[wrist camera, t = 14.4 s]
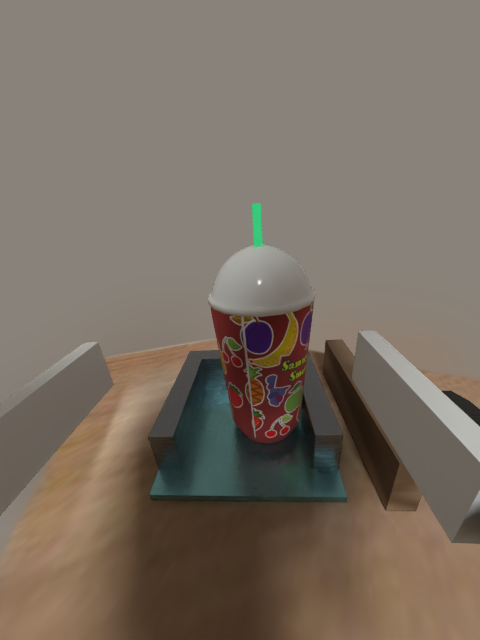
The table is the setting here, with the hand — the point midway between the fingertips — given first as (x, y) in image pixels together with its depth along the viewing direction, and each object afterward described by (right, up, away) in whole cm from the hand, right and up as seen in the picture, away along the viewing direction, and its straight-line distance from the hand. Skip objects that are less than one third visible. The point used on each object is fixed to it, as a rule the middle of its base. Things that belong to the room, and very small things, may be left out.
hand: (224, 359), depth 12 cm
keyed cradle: (+2, -9, +13) cm, 15 cm away
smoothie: (+3, -8, +12) cm, 15 cm away
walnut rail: (+13, -8, +12) cm, 19 cm away
